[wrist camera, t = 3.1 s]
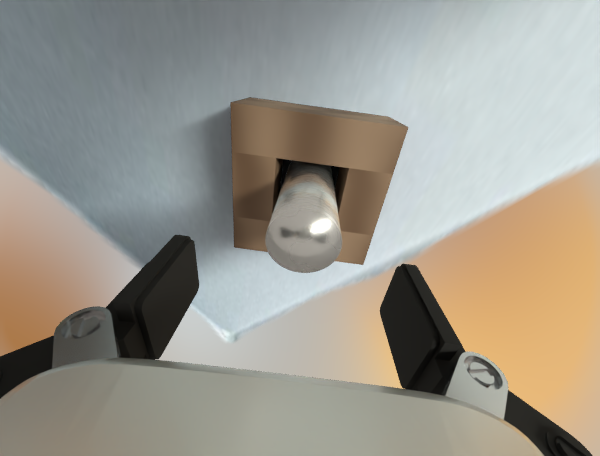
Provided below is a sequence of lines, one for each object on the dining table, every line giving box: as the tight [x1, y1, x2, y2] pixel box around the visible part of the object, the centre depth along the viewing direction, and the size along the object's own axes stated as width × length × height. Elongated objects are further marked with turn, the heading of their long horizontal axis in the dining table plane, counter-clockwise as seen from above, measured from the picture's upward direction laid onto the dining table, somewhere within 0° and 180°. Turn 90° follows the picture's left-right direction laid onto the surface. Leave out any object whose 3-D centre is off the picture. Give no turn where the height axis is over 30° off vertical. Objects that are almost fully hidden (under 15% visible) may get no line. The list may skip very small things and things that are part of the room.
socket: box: [231, 97, 408, 265], centre depth 20 cm, size 11×11×5 cm
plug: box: [265, 160, 342, 273], centre depth 18 cm, size 4×4×11 cm
